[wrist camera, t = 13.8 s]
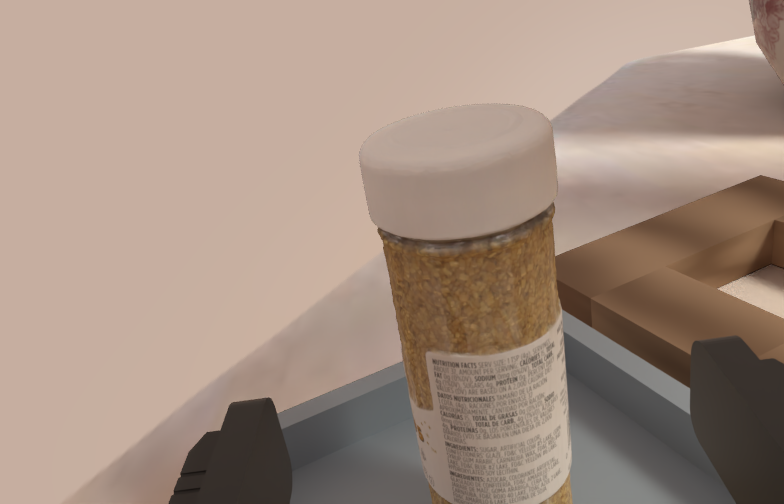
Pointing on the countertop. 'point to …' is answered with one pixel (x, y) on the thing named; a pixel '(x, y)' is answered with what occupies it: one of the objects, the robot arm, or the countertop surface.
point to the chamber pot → (770, 31)
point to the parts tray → (587, 428)
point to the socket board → (681, 277)
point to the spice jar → (476, 297)
